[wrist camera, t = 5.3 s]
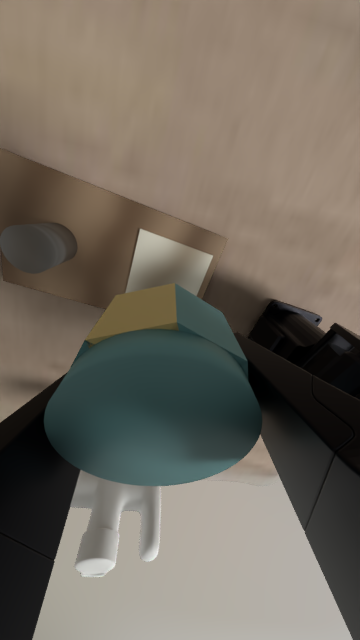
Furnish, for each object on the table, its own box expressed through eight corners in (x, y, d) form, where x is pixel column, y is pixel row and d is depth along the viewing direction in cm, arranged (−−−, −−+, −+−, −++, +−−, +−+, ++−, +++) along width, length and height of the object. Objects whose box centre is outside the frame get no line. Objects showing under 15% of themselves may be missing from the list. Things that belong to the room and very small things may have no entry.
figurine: (99, 372, 24) (15, 556, 11) (170, 385, 26) (171, 559, 13) (94, 408, 28) (24, 584, 14) (157, 418, 29) (147, 583, 16)
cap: (229, 380, 10) (261, 472, 6) (124, 398, 10) (99, 495, 7) (218, 273, 7) (263, 331, 4) (75, 303, 7) (-10, 382, 4)
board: (225, 237, 17) (244, 245, 13) (187, 328, 22) (191, 356, 17) (1, 148, 14) (-78, 118, 9) (9, 278, 18) (-42, 298, 14)
